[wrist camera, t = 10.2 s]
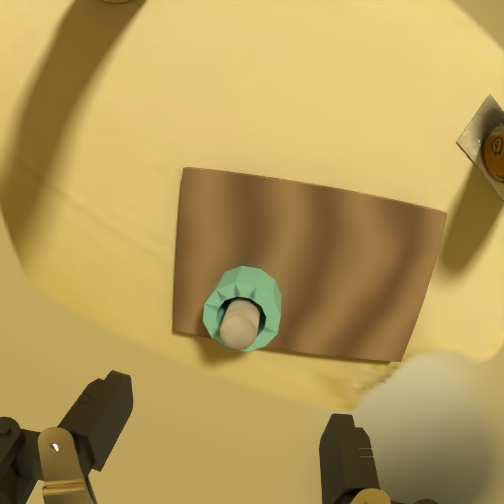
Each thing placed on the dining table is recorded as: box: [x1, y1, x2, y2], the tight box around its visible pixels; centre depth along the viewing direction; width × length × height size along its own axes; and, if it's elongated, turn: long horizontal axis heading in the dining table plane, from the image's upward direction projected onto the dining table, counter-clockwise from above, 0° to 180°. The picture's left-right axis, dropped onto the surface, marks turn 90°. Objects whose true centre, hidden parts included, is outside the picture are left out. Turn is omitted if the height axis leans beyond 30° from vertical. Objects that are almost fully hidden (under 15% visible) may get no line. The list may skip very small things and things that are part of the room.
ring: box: [203, 266, 282, 352], centre depth 28 cm, size 6×6×4 cm
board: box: [173, 167, 447, 362], centre depth 26 cm, size 24×16×9 cm, turn 82°
